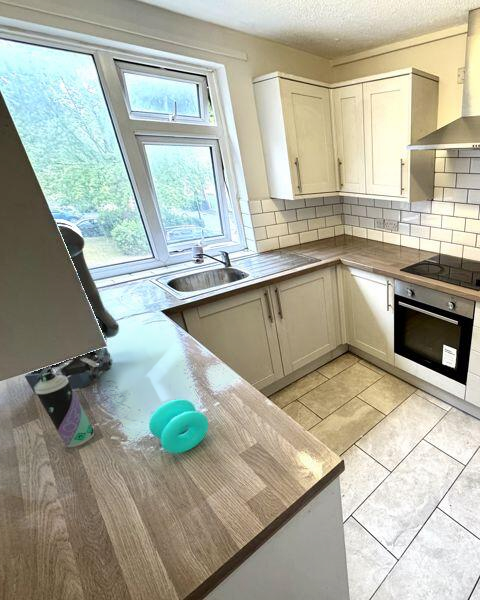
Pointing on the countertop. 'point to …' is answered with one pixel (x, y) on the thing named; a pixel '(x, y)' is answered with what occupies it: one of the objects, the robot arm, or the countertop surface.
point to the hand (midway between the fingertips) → (69, 383)
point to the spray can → (64, 409)
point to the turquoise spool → (178, 425)
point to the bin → (74, 380)
